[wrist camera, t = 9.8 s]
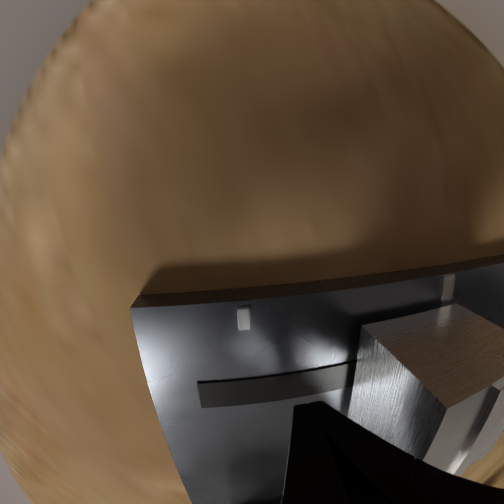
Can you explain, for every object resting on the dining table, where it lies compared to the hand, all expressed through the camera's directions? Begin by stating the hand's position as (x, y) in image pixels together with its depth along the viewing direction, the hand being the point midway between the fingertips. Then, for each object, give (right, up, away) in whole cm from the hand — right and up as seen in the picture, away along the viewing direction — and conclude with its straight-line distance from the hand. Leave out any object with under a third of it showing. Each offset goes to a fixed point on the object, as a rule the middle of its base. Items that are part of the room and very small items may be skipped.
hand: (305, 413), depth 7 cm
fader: (+4, +1, +1) cm, 4 cm away
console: (+5, -4, +4) cm, 7 cm away
